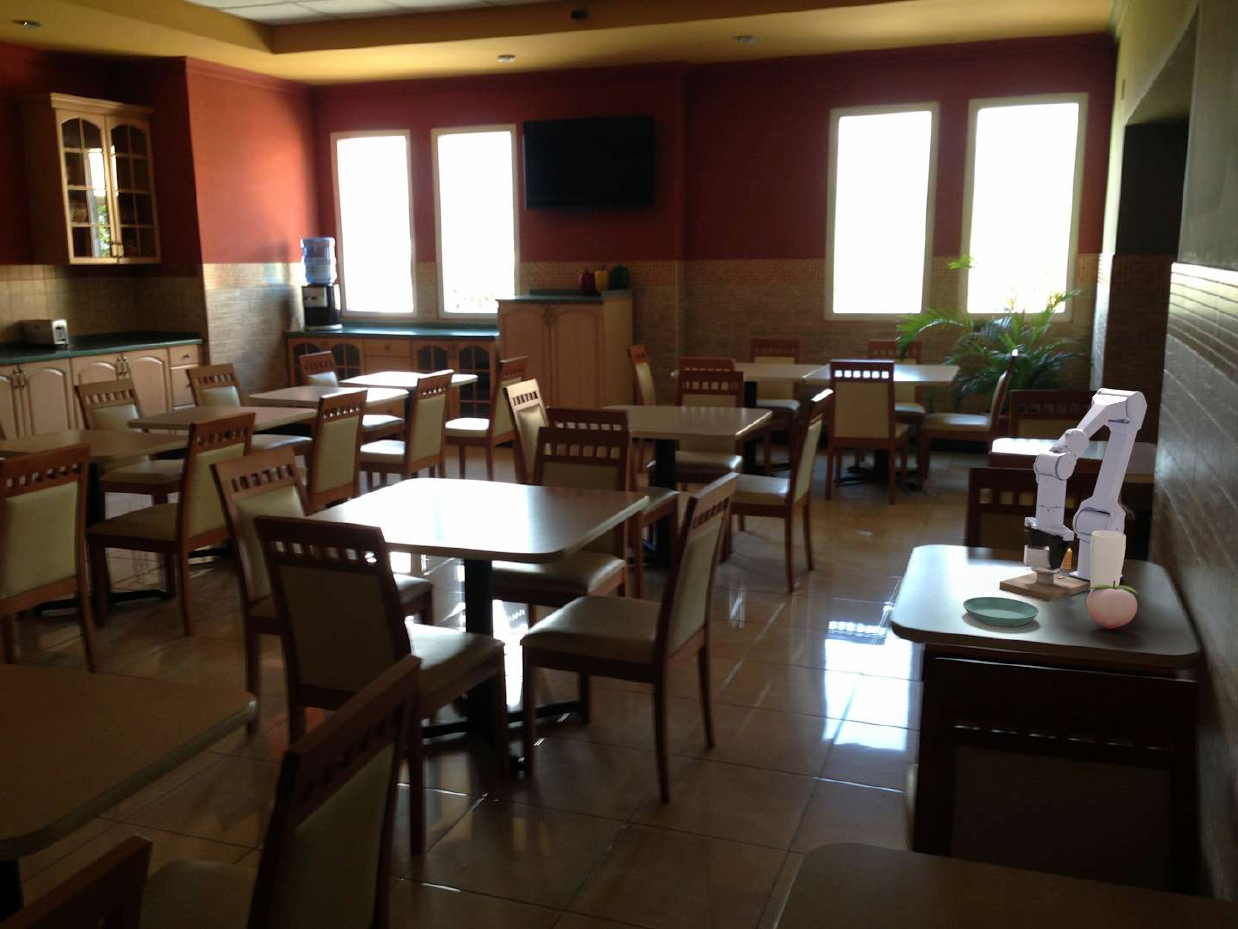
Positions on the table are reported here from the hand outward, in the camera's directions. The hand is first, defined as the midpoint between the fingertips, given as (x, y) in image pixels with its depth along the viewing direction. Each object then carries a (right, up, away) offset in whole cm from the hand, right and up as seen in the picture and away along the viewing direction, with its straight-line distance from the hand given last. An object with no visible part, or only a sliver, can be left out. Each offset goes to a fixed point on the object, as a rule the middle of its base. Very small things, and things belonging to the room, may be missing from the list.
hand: (1045, 564), depth 232 cm
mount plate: (0, -6, +1) cm, 6 cm away
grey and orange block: (0, -1, 0) cm, 2 cm away
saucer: (-17, -10, -19) cm, 28 cm away
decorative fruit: (+2, -11, -26) cm, 28 cm away
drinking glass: (+9, -7, -8) cm, 14 cm away
